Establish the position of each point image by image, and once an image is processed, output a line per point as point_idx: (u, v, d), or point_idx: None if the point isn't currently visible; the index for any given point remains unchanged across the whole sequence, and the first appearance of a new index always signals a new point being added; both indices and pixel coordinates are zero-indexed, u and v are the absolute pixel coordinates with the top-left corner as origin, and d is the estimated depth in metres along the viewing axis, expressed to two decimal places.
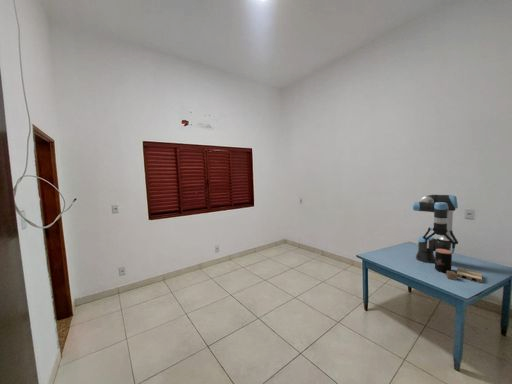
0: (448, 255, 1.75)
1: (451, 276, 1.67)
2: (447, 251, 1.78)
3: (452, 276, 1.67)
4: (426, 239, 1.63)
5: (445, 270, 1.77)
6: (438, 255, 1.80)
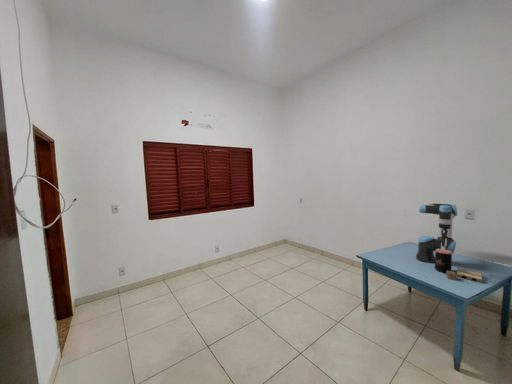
0: (448, 255, 1.75)
1: (451, 276, 1.67)
2: (447, 251, 1.78)
3: (452, 276, 1.67)
4: None
5: (445, 270, 1.77)
6: (438, 255, 1.80)
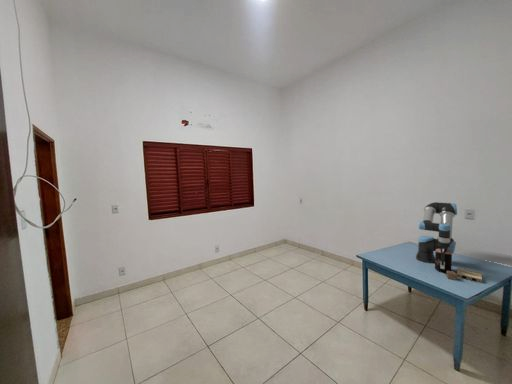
0: (448, 255, 1.75)
1: (451, 276, 1.67)
2: (447, 251, 1.78)
3: (452, 276, 1.67)
4: None
5: (445, 270, 1.77)
6: (438, 255, 1.80)
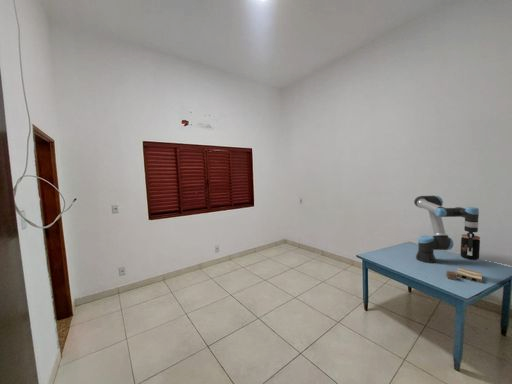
0: (476, 240, 1.62)
1: (451, 276, 1.67)
2: (475, 236, 1.66)
3: (452, 276, 1.67)
4: None
5: (472, 256, 1.64)
6: (465, 241, 1.67)
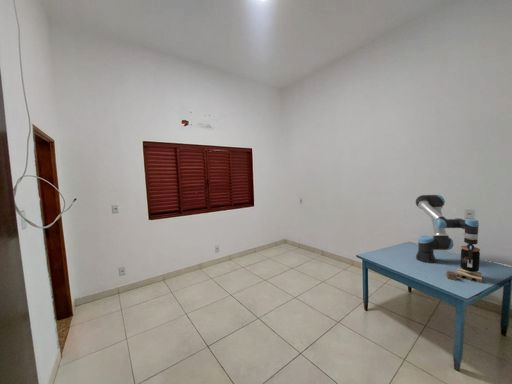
0: (476, 252, 1.63)
1: (451, 276, 1.67)
2: (474, 248, 1.66)
3: (452, 276, 1.67)
4: None
5: (472, 268, 1.65)
6: (465, 252, 1.67)
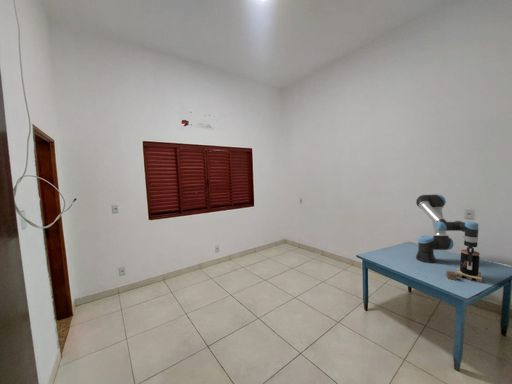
0: (476, 256, 1.64)
1: (451, 276, 1.67)
2: (474, 252, 1.67)
3: (452, 276, 1.67)
4: None
5: (472, 272, 1.65)
6: (464, 256, 1.68)
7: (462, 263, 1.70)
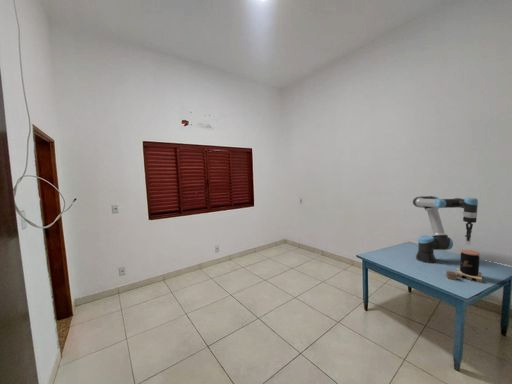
0: (476, 256, 1.64)
1: (451, 276, 1.67)
2: (474, 252, 1.67)
3: (452, 276, 1.67)
4: None
5: (472, 272, 1.65)
6: (464, 256, 1.68)
7: (462, 263, 1.70)
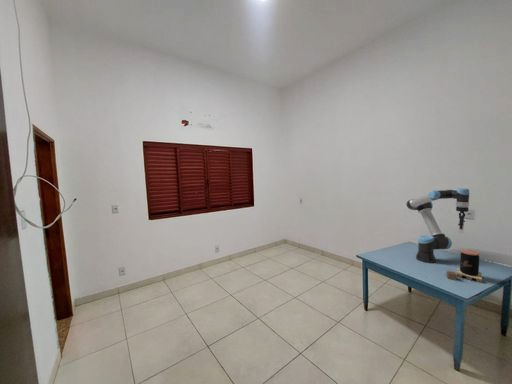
0: (476, 256, 1.64)
1: (451, 276, 1.67)
2: (474, 252, 1.67)
3: (452, 276, 1.67)
4: None
5: (472, 272, 1.65)
6: (464, 256, 1.68)
7: (462, 263, 1.70)
